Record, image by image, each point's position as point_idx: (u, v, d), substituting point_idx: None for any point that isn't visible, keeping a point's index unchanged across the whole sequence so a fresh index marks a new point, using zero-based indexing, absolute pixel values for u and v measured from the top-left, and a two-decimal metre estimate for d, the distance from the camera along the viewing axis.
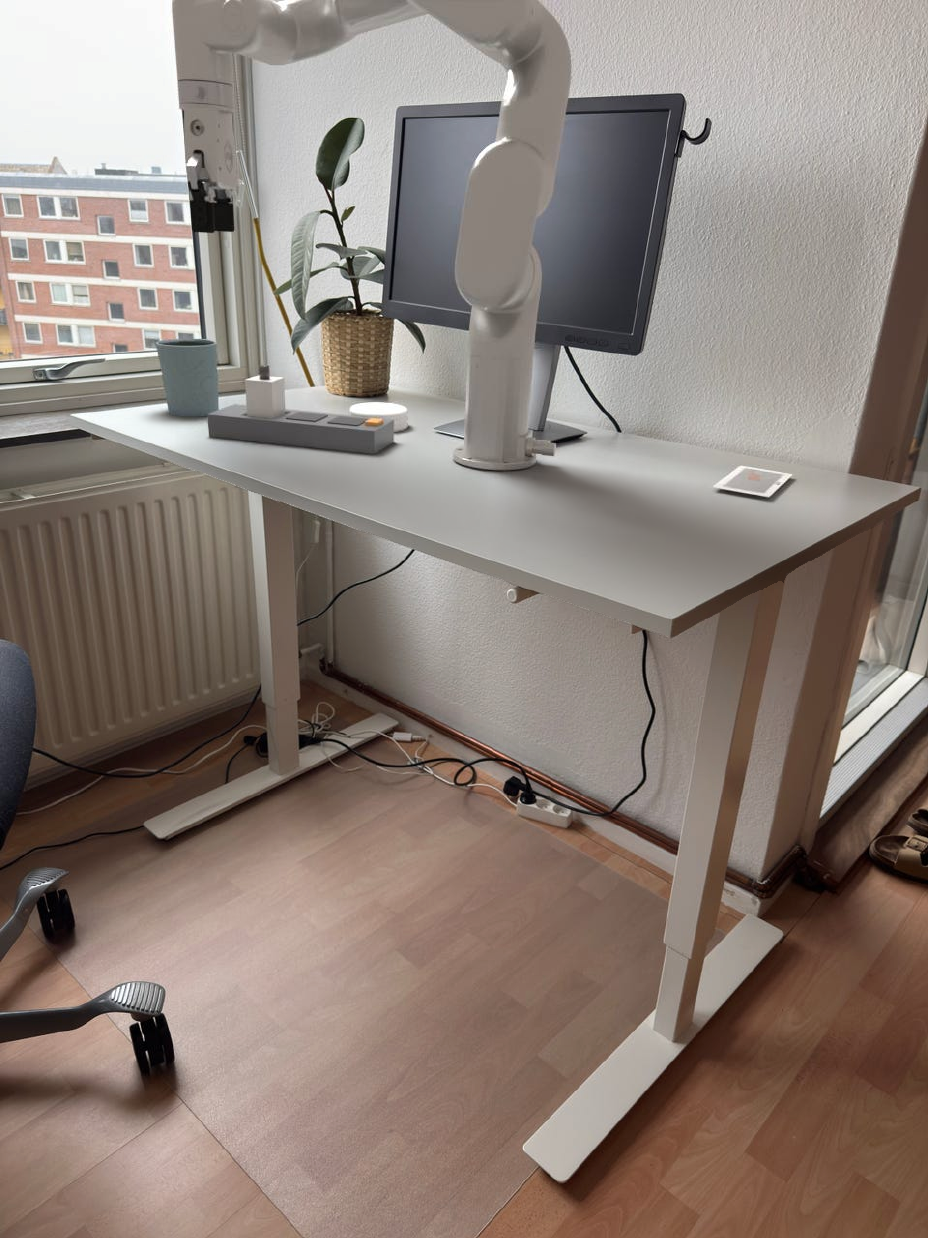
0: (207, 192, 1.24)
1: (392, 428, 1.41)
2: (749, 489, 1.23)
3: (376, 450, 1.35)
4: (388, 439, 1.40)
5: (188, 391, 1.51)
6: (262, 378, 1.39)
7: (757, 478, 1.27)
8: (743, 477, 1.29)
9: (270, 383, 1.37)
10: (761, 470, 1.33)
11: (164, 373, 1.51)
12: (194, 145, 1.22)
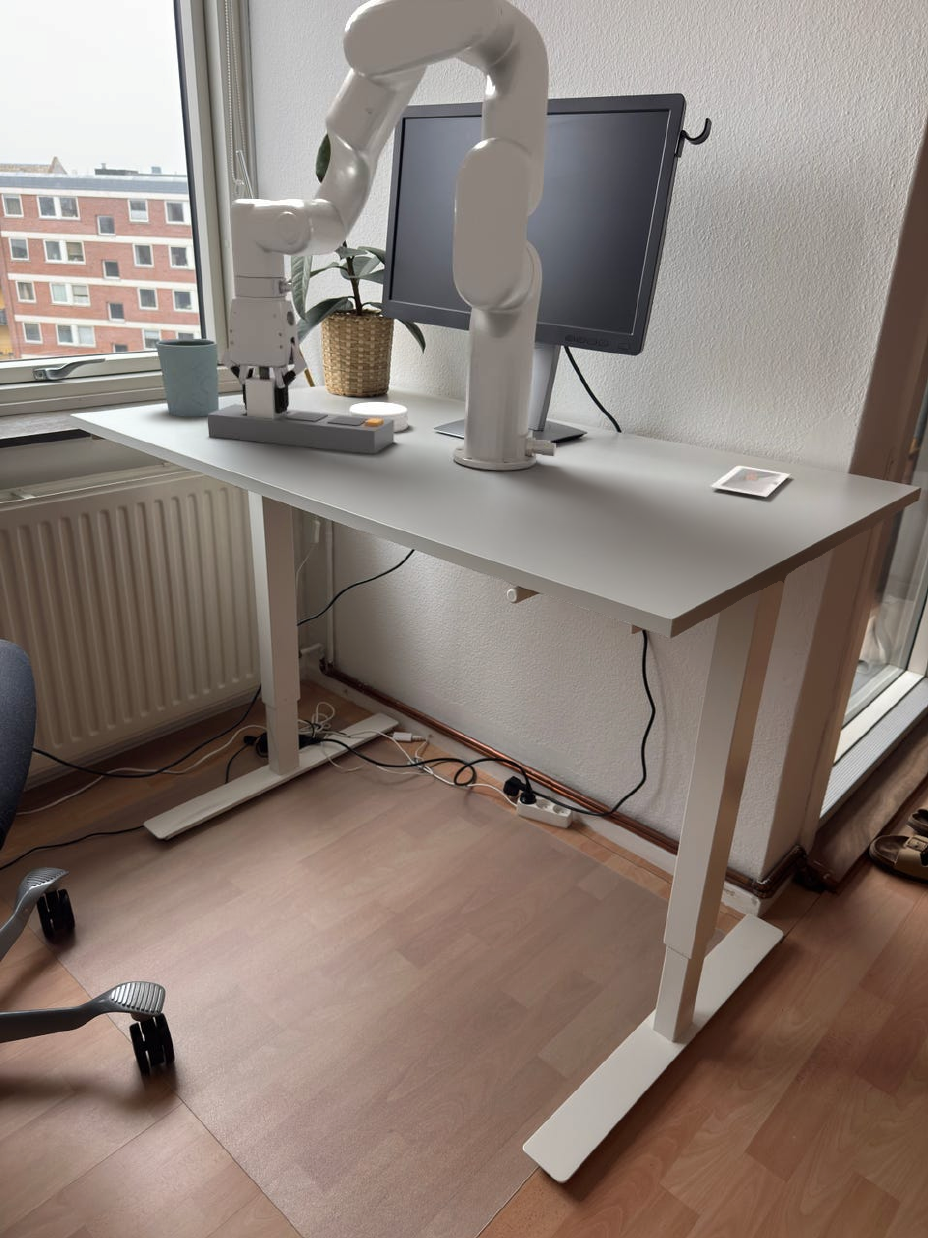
0: None
1: (392, 428, 1.41)
2: (746, 489, 1.23)
3: (376, 450, 1.35)
4: (388, 439, 1.40)
5: (188, 391, 1.51)
6: (262, 378, 1.39)
7: (754, 478, 1.27)
8: (741, 477, 1.29)
9: (270, 383, 1.37)
10: (759, 470, 1.33)
11: (164, 373, 1.51)
12: (290, 333, 1.35)
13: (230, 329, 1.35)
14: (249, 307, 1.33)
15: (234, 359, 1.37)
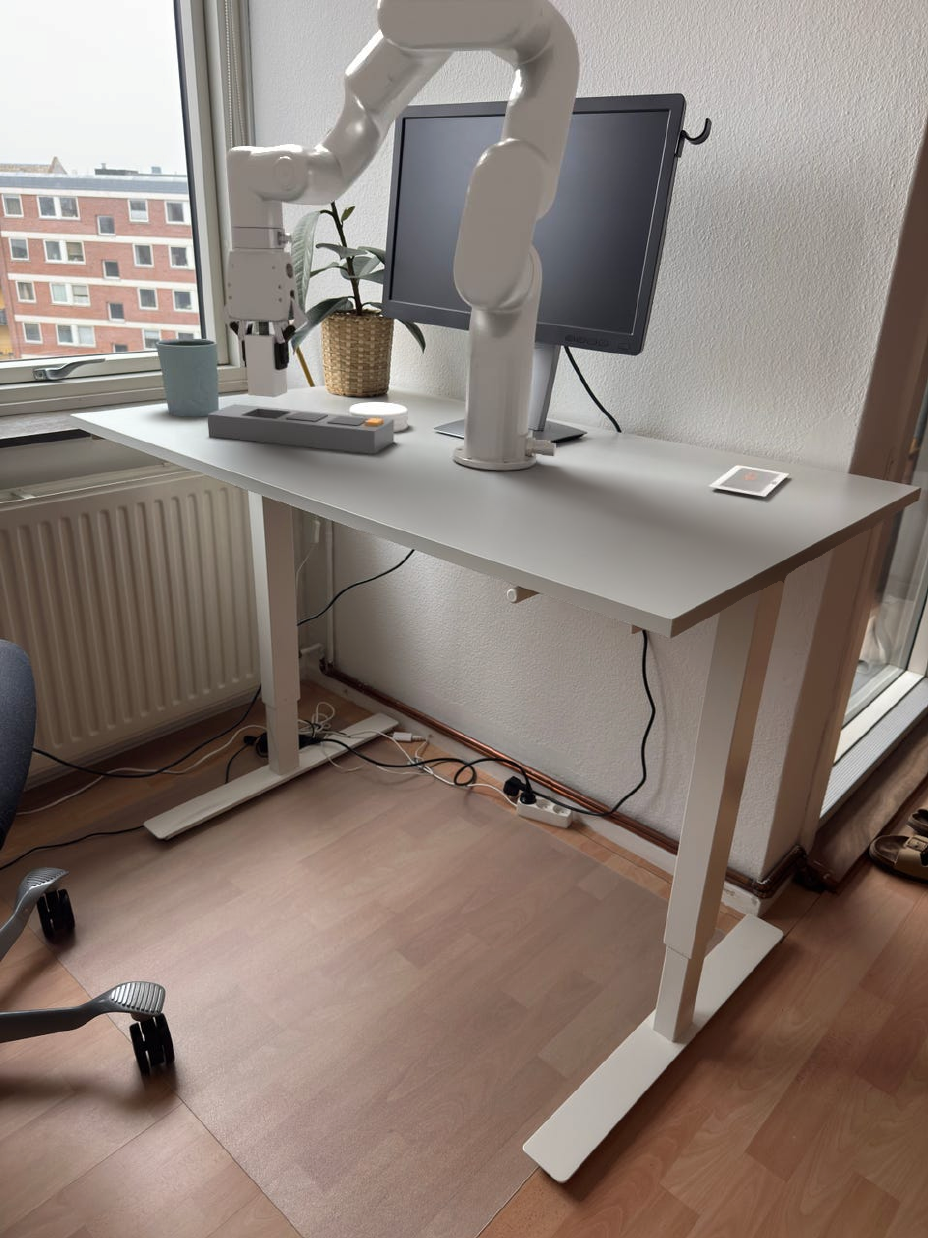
0: None
1: (392, 428, 1.41)
2: (745, 488, 1.23)
3: (376, 450, 1.35)
4: (388, 439, 1.40)
5: (188, 391, 1.51)
6: (262, 334, 1.36)
7: (753, 477, 1.27)
8: (739, 476, 1.29)
9: (270, 338, 1.34)
10: (757, 469, 1.33)
11: (164, 373, 1.51)
12: (290, 286, 1.32)
13: (228, 283, 1.33)
14: (247, 259, 1.30)
15: (233, 314, 1.34)
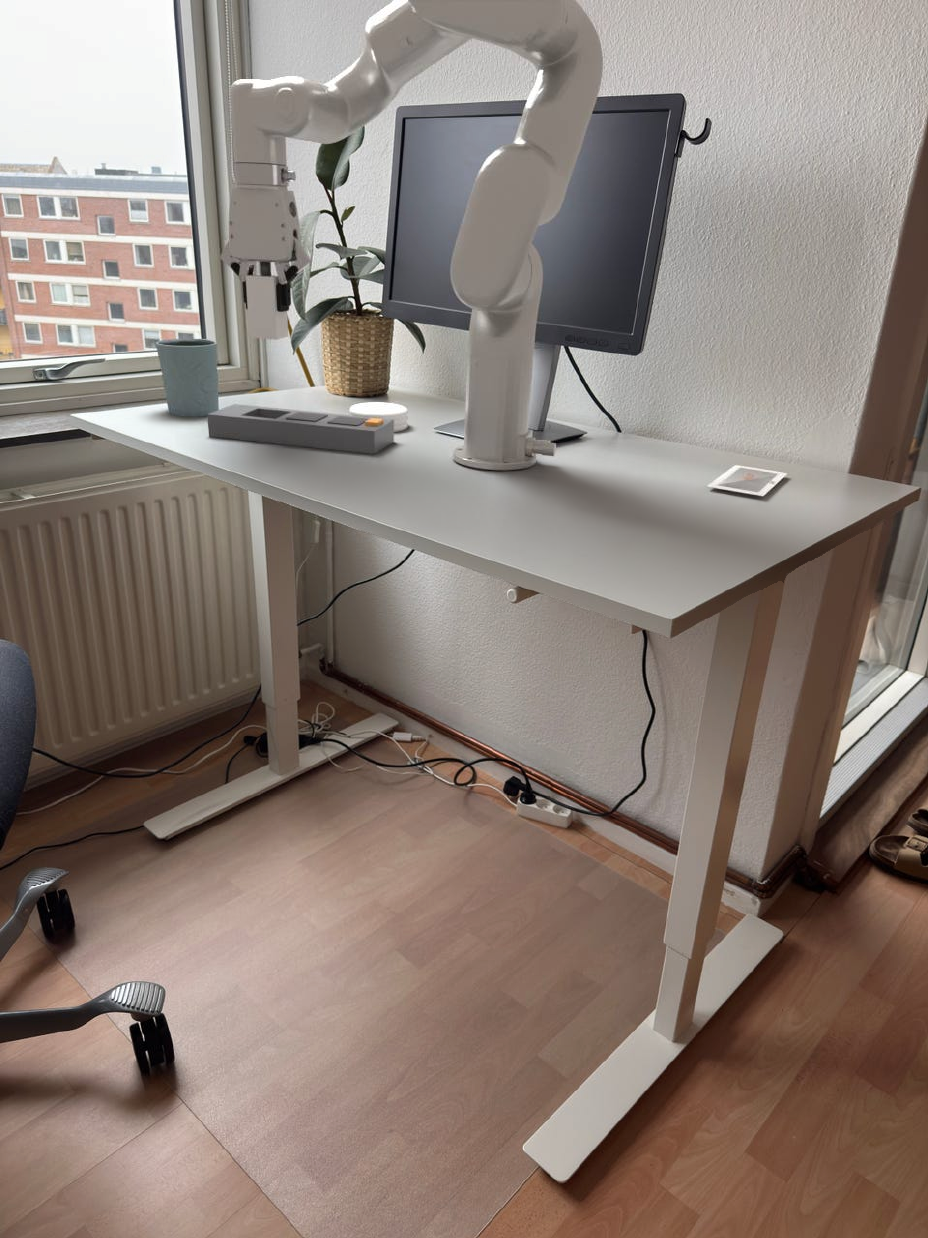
0: None
1: (392, 428, 1.41)
2: (743, 488, 1.23)
3: (376, 450, 1.35)
4: (388, 439, 1.40)
5: (188, 391, 1.51)
6: (263, 274, 1.34)
7: (752, 477, 1.27)
8: (738, 476, 1.29)
9: (272, 278, 1.33)
10: (756, 469, 1.33)
11: (164, 373, 1.51)
12: (293, 225, 1.31)
13: (230, 221, 1.31)
14: (249, 197, 1.28)
15: (234, 254, 1.33)
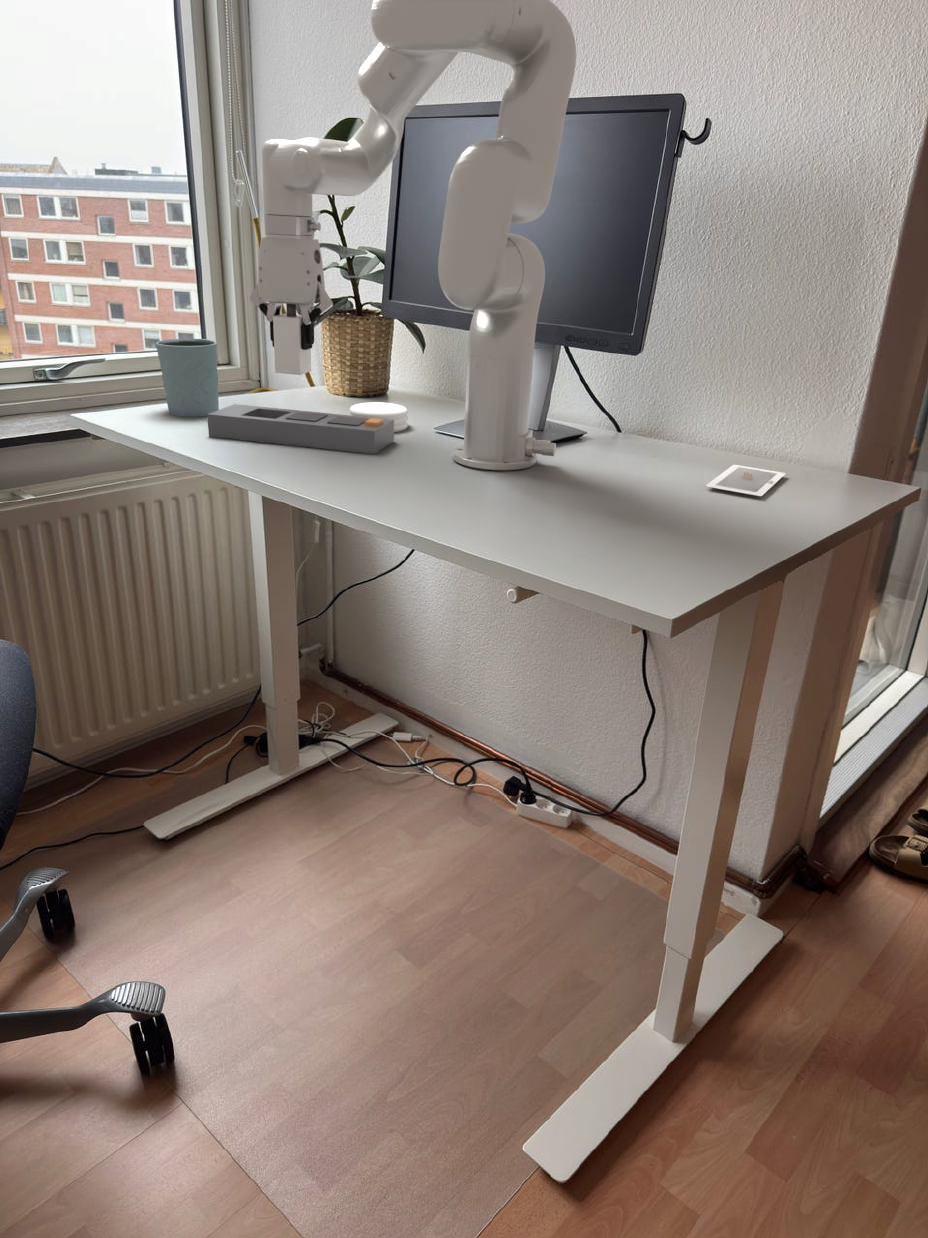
0: None
1: (392, 428, 1.41)
2: (742, 488, 1.23)
3: (376, 450, 1.35)
4: (388, 439, 1.40)
5: (188, 391, 1.51)
6: (289, 315, 1.45)
7: (750, 477, 1.27)
8: (736, 476, 1.29)
9: (297, 319, 1.43)
10: (754, 469, 1.33)
11: (164, 373, 1.51)
12: (317, 271, 1.41)
13: (259, 267, 1.42)
14: (278, 245, 1.39)
15: (263, 296, 1.44)
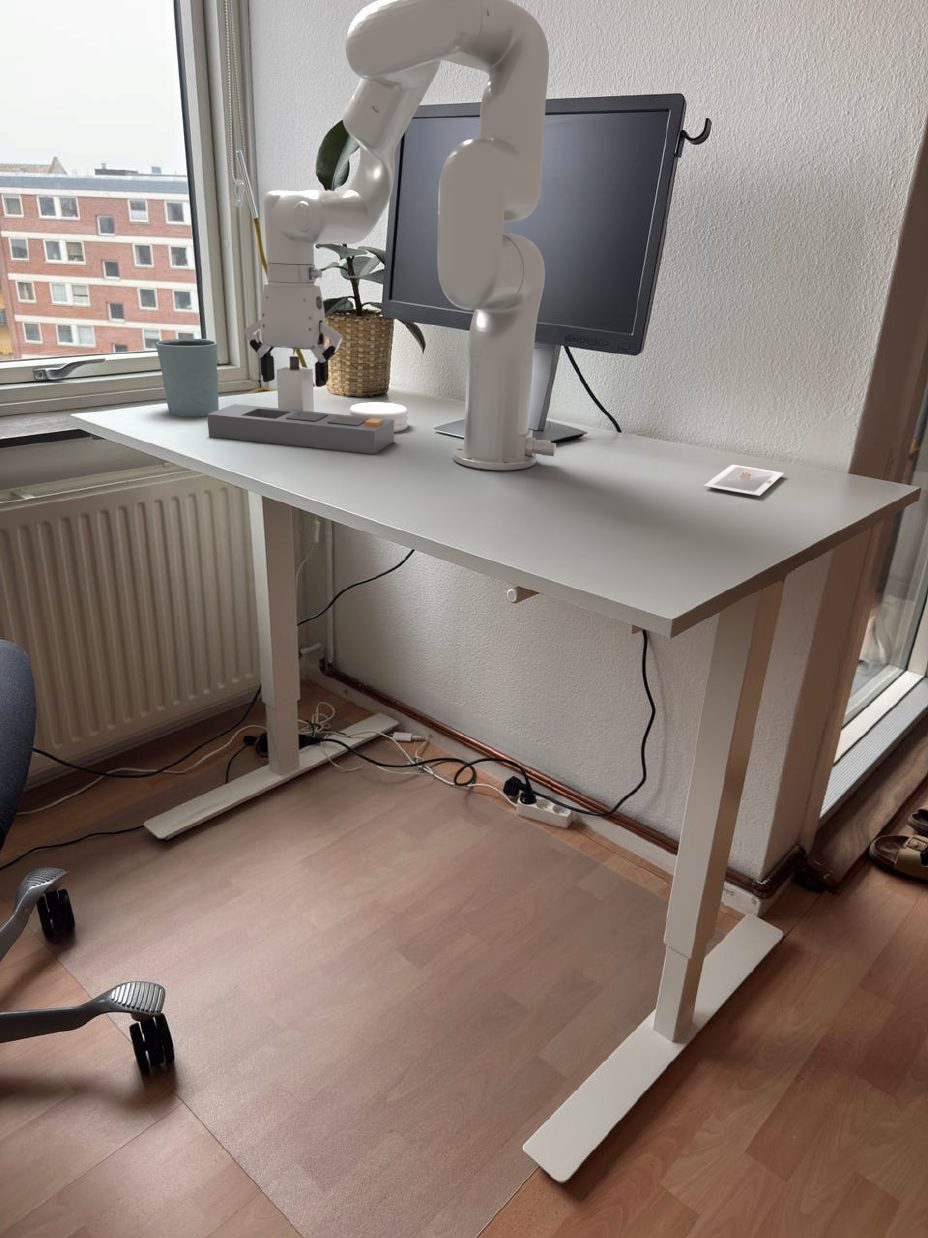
0: None
1: (392, 428, 1.41)
2: (740, 488, 1.23)
3: (376, 450, 1.35)
4: (388, 439, 1.40)
5: (188, 391, 1.51)
6: (292, 368, 1.48)
7: (748, 477, 1.27)
8: (734, 476, 1.29)
9: (300, 373, 1.47)
10: (753, 469, 1.33)
11: (164, 373, 1.51)
12: (319, 316, 1.44)
13: (262, 313, 1.45)
14: (280, 292, 1.42)
15: (266, 341, 1.46)
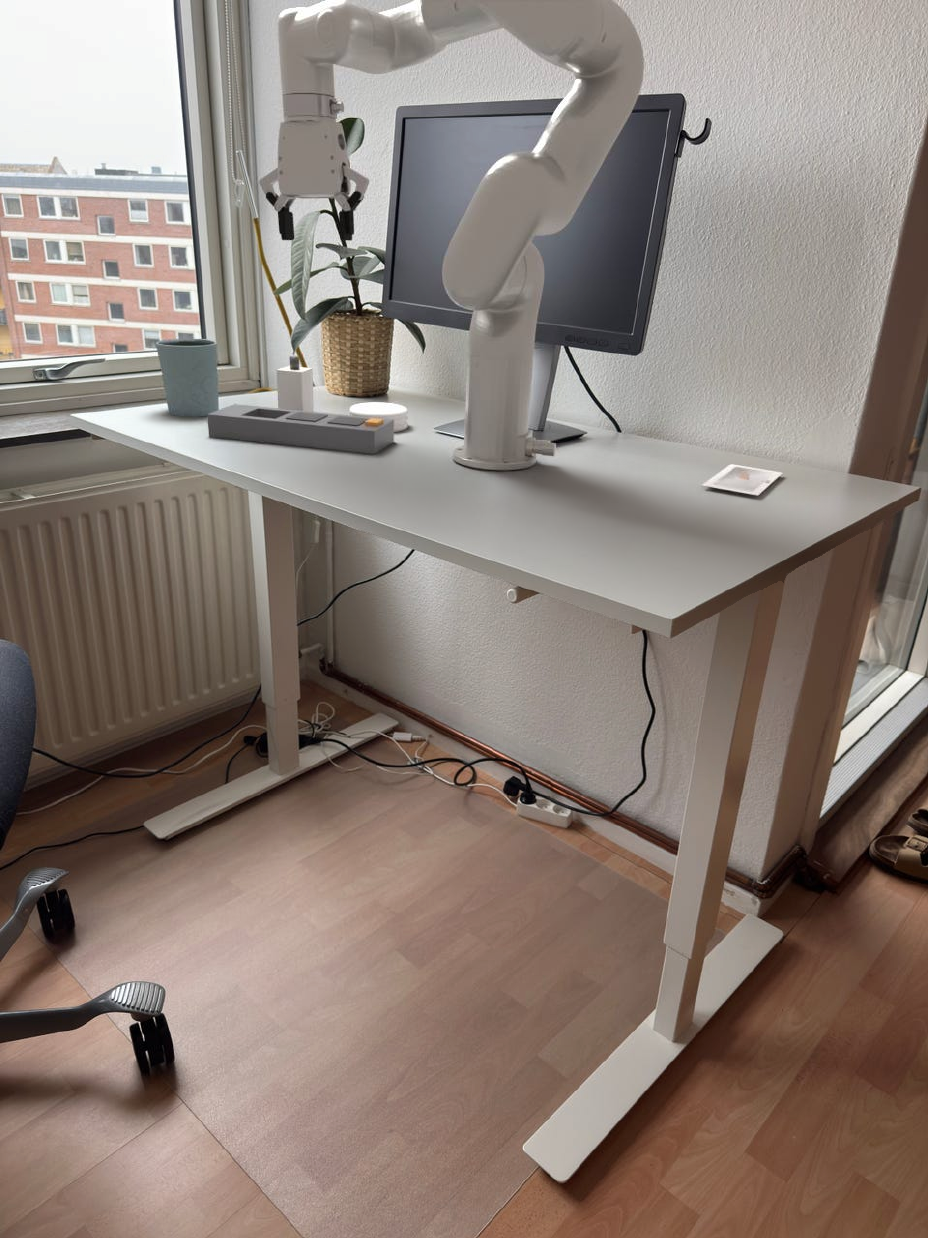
0: None
1: (392, 428, 1.41)
2: (738, 487, 1.23)
3: (376, 450, 1.35)
4: (388, 439, 1.40)
5: (188, 391, 1.51)
6: (292, 368, 1.48)
7: (747, 476, 1.27)
8: (733, 475, 1.29)
9: (300, 373, 1.47)
10: (751, 468, 1.33)
11: (164, 373, 1.51)
12: (342, 157, 1.29)
13: (279, 157, 1.30)
14: (298, 130, 1.27)
15: (283, 191, 1.32)
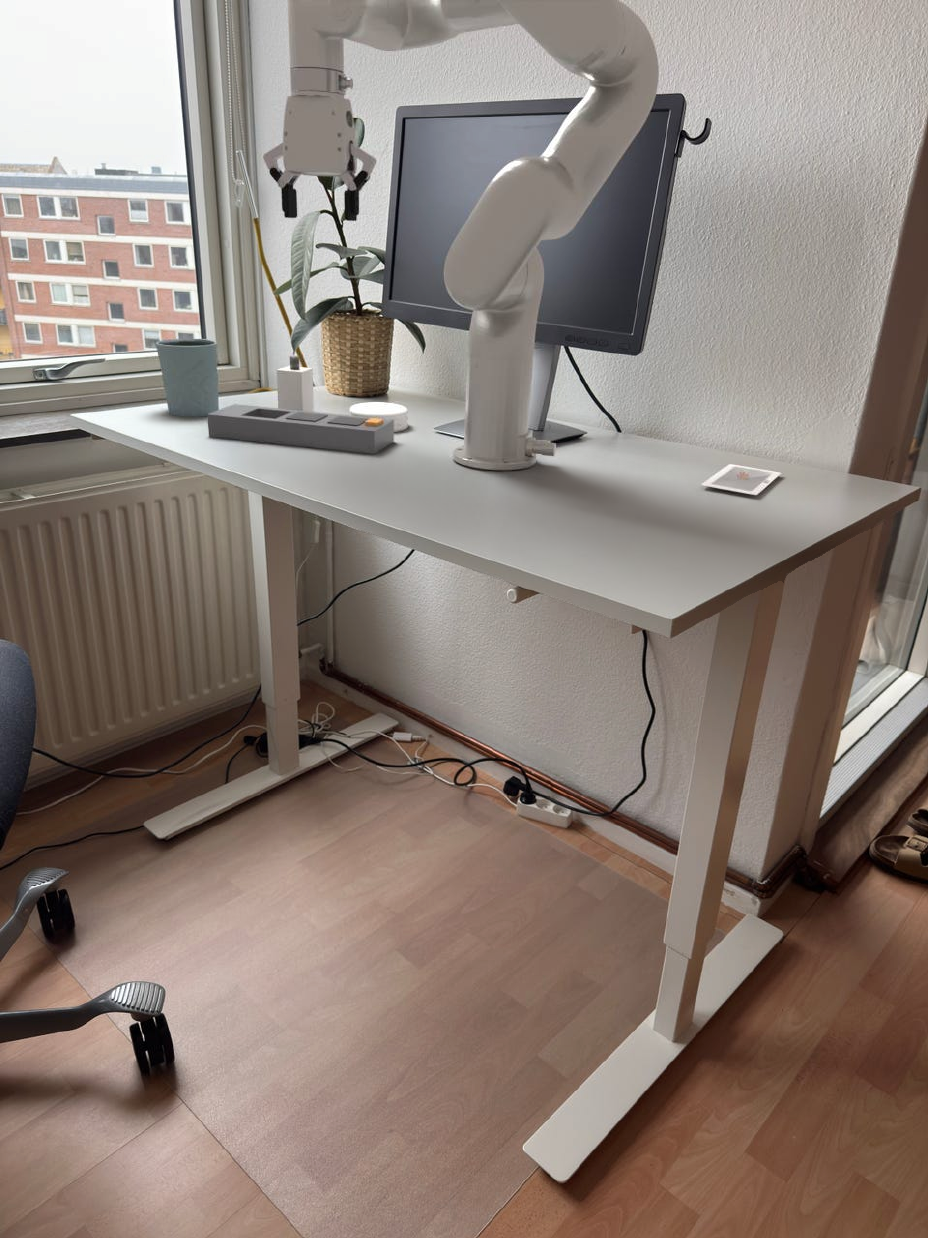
0: None
1: (392, 428, 1.41)
2: (737, 487, 1.23)
3: (376, 450, 1.35)
4: (388, 439, 1.40)
5: (188, 391, 1.51)
6: (292, 368, 1.48)
7: (745, 476, 1.28)
8: (732, 475, 1.29)
9: (300, 373, 1.47)
10: (750, 468, 1.34)
11: (164, 373, 1.51)
12: (349, 135, 1.26)
13: (284, 132, 1.27)
14: (306, 104, 1.24)
15: (288, 167, 1.29)
